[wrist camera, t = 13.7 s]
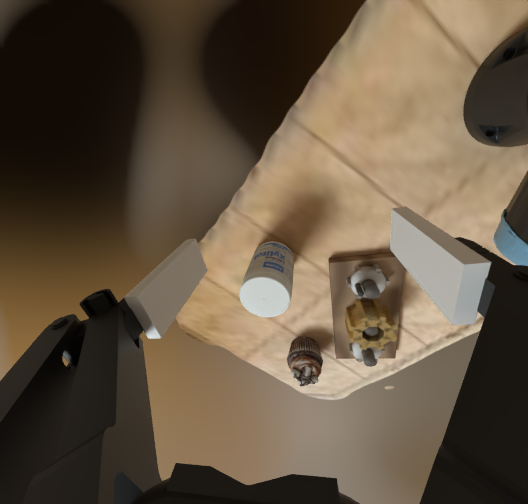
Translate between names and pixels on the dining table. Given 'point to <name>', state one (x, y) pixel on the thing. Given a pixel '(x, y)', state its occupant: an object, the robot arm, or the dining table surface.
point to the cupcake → (305, 360)
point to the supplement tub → (268, 280)
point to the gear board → (364, 299)
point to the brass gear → (370, 324)
